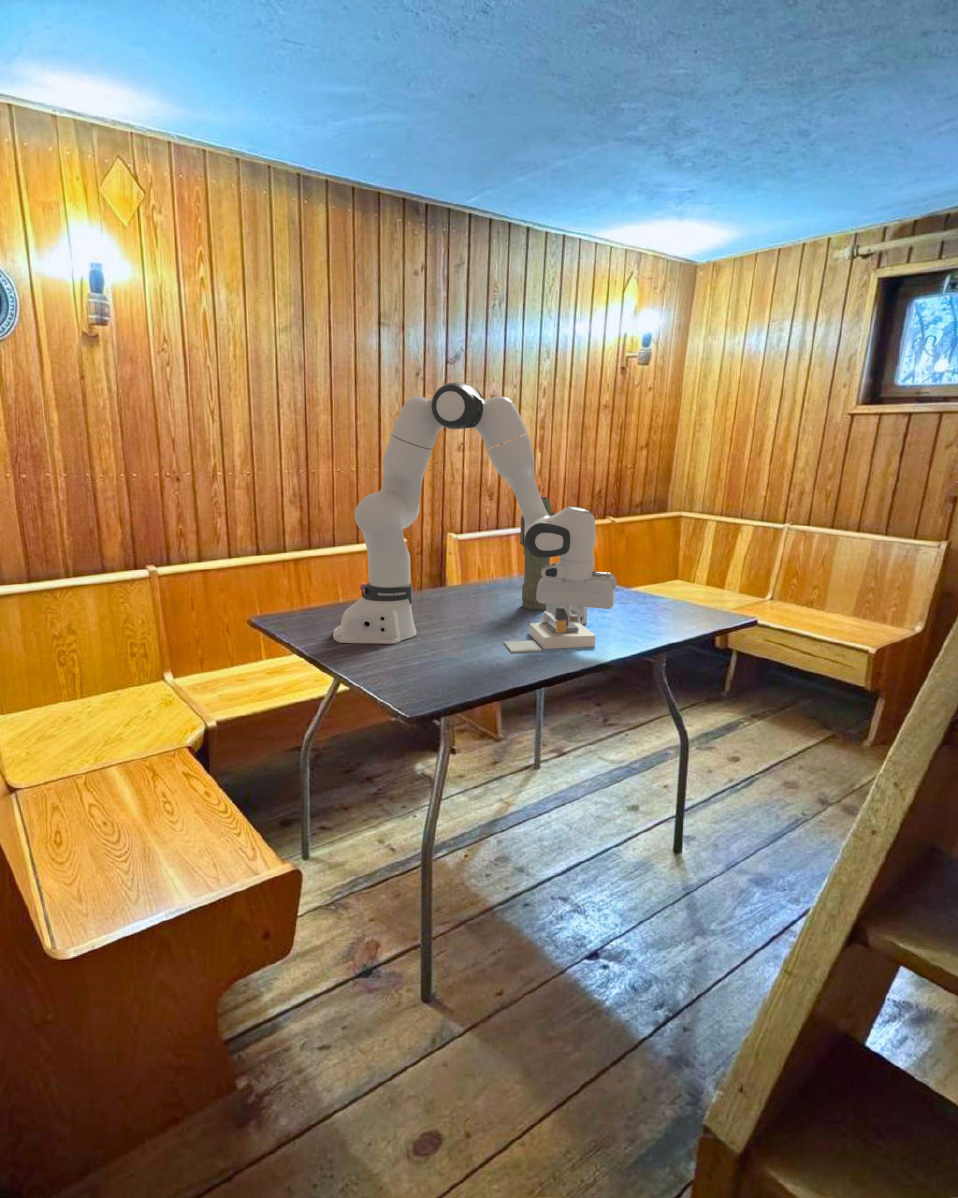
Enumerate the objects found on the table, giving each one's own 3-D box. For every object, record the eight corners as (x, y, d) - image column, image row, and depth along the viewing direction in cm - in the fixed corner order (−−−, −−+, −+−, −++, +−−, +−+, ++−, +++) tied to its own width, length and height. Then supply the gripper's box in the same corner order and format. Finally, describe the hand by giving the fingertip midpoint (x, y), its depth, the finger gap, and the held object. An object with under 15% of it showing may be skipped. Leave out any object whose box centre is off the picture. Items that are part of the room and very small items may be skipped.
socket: (543, 648, 176) (544, 637, 176) (529, 633, 190) (529, 623, 189) (594, 646, 179) (595, 635, 178) (577, 631, 192) (577, 621, 192)
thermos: (512, 606, 220) (515, 496, 212) (542, 602, 226) (546, 495, 218) (528, 612, 212) (532, 499, 204) (558, 608, 218) (563, 498, 210)
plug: (552, 644, 180) (554, 611, 178) (544, 636, 187) (546, 605, 185) (577, 643, 182) (579, 610, 180) (569, 635, 188) (570, 604, 186)
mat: (511, 652, 173) (511, 651, 172) (504, 643, 180) (504, 641, 180) (542, 651, 174) (542, 649, 174) (533, 642, 182) (533, 640, 182)
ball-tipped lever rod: (539, 621, 190) (540, 606, 189) (548, 621, 190) (548, 606, 189) (556, 637, 175) (557, 621, 174) (565, 637, 175) (566, 621, 174)
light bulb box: (587, 623, 202) (589, 587, 199) (577, 628, 196) (579, 591, 194) (555, 617, 207) (556, 582, 205) (544, 622, 202) (545, 586, 199)
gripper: (618, 571, 176) (615, 622, 179) (541, 565, 182) (539, 615, 185) (615, 575, 170) (612, 629, 173) (535, 569, 176) (533, 621, 180)
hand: (574, 622), depth 179 cm, fingers closed
